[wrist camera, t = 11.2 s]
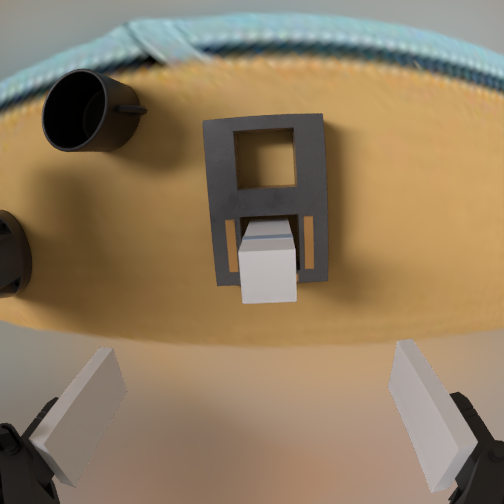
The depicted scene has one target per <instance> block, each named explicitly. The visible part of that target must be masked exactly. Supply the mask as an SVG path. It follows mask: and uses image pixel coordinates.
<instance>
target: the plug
mask: <svg viewBox="0 0 504 504" xmlns="http://www.w3.org/2000/svg"><path fill="white" fill-rule="evenodd" d="M238 255H239V267H240V279H241V291H242V303H243V304H251V303H277V302H297V293H296V251H295V245H294V241H293V235H292V234H291V230H290V226H289V222H288V218H274V219H255V220H250V222H249V224H248V227H247V230H246V232H245V235H244V236H243V238H242V243H241V246H240V249H239V251H238Z"/></svg>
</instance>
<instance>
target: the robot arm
mask: <svg viewBox="0 0 504 504" xmlns="http://www.w3.org/2000/svg"><path fill="white" fill-rule="evenodd" d="M31 268H32V262H31V253H30V248H29V244H28V241H27V238H26V236H25V233H24V231H23V229H22V228H21V226H20V224H19V223H18V222H17V220H16V219H15V218H14V217H13V216H12V215H11V214H10V213H8V212H6V211H4V210H0V298H7V297H12V296H14V295H16V294H18V293H19V292H21V291H22V290H24V289H25V287H26V286H27V284H28V282H29V280H30V276H31ZM388 388H389V390H390V393H391V395H392V397H393V399H394V402H395V404H396V406H397V408H398V411H399V413H400V416H401V418H402V420H403V423H404V425H405V427H406V430H407V432H408V435H409V437H410V439H411V442H412V444H413V447H414V449H415V452H416V454H417V457H418V459H419V462H420V464H421V467H422V470H423V472H424V475H425V478H426V480H427V483H428V486H429V488H430V491H431V493H434V492H437V491H441V490H444V489H446V488H449V487H450V485H451V484H452V483H453V481H454V480H456V482H457V485H458V487H457V488H456V490H455V491H454V492H453V494H452V495H451V496H450V498H449V499H448V500H451V501H450V503H449V504H504V442H503V441H498V440H494V438H493V437H492V435H491V433H490V432H489V430H488V429H487V427H486V426H485V424H484V422H483V421H482V419H481V418H480V416H479V415H478V413H477V412H476V410H475V409H473V406H472V404H471V403H470V401H469V400H468V398H467V397H465V396H464V395H462V394H461V393H460V392H456V393H452V394H448V392H447V390H446V389H445V387H444V385H443V384H442V382H441V381H440V379H439V378H438V376H437V375H436V373H435V372H434V370H433V369H432V367H431V366H430V364H429V363H428V361H427V360H426V358H425V357H424V355H423V354H422V353H421V351H420V350H419V348H418V347H417V345H416V344H415V342H414V341H413V339H406V340H399V341H397V344H396V351H395V356H394V361H393V366H392V371H391V376H390V380H389V385H388ZM127 392H128V391H127V388H126V386H125V383H124V380H123V377H122V374H121V371H120V368H119V365H118V362H117V359H116V356H115V352H114V349H113V348H106V347H100V348H99V349H98V350H97V351H96V353H95V354H94V355H93V357H92V358H91V359H90V360H89V361H88V363H87V364H86V365H85V366H84V368H83V369H82V370H81V371H80V372H79V374H78V375H77V376H76V377H75V379H74V380H73V381H72V382H71V384H70V385H69V387H68V388H67V389H66V390H65V391H64V393H63V394H62V395H61V397H60V398H57V397H55V398H54V399H52V400H51V401H49V402H48V403H47V404H46V405H45V406H44V408H43V409H42V410H41V412H40V413H39V414H38V415H37V418H35V419H34V420H33V422H32V423H31V424H30V426H29V427H28V428H27V430H26V431H25V432H24V433H23V435H22V436H21V437H20V436H19V434H18V433H17V431H16V429H15V428H14V427H13V426H12V425H11V424H8V423H2V424H0V504H60V501H59V498H58V495H57V491H56V488H55V485H54V482H53V481H52V477H53V476H54V474H55V476H56V477H57V478H58V479H59V481H60V482H61V483H64V484H67V485H70V486H72V487H76V486H77V484H78V482H79V480H80V478H81V476H82V474H83V472H84V470H85V468H86V467H87V465H88V463H89V461H90V459H91V457H92V455H93V453H94V452H95V450H96V448H97V446H98V444H99V442H100V440H101V439H102V437H103V435H104V433H105V431H106V429H107V428H108V426H109V424H110V422H111V420H112V419H113V417H114V415H115V413H116V411H117V410H118V408H119V406H120V404H121V402H122V401H123V399H124V397H125V395H126V394H127Z"/></svg>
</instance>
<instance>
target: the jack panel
mask: <svg viewBox="0 0 504 504" xmlns="http://www.w3.org/2000/svg"><path fill="white" fill-rule="evenodd" d="M270 131H292V141H293V157H294V175H295V185H273V186H255V187H240V175H239V161H238V147H237V134H240V133H254V132H270ZM203 135H204V149H205V162H206V175H207V187H208V199H209V210H210V221H211V231H212V242H213V251H214V261H215V271H216V280H217V286H229V285H241V279H240V267H239V255H238V251H239V249H240V246H241V243H242V238H243V236H244V230H243V217H250V216H268V215H289V214H296V217H297V246H298V261H296V283H301V282H320V281H328V206H327V176H326V156H325V139H324V124H323V114H281V115H262V116H248V117H235V118H225V119H215V120H206V121H203Z"/></svg>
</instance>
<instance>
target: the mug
mask: <svg viewBox="0 0 504 504" xmlns="http://www.w3.org/2000/svg"><path fill="white" fill-rule="evenodd" d="M147 111H148V110H147V109H146V107H143V106H140V104H139V100H138V98H137V95H136V94H135V92H134V91H133V90H132V89H131V88H130V87H129V86H127V85H125V84H123V83H121V82H118V81H116V80H114V79H111V78H109V77H107V76H105V75H102V74H100V73H97V72H95V71H93V70H90V69H77V70H73V71H71V72H69V73H67V74H65V75H64V76H62V77H61V78H60V79H59V80H58V81H57V82H56V83H55V84H54V85H53V87H52V88H51V90H50V91H49V93H48V95H47V97H46V100H45V102H44V106H43V111H42V127H43V131H44V134H45V137H46V138H47V140H48V141H49V143H50V144H51V145H52V146H53V147H55V148H56V149H58V150H60V151H64V152H105V151H112V150H115V149H117V148H119V147H121V146H122V145H124V144H125V143H126V142H127V141H128V140H129V139H130V138H131V137H132V135H133V134H134V132H135V130H136V128H137V126H138V123H139V119H140V115H144V114H146V113H147Z"/></svg>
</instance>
